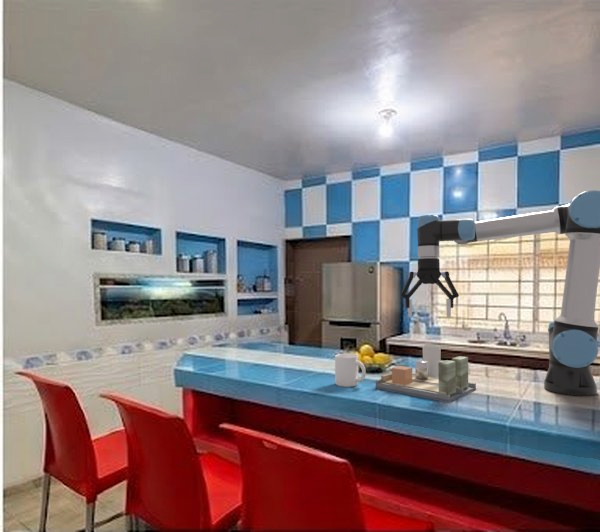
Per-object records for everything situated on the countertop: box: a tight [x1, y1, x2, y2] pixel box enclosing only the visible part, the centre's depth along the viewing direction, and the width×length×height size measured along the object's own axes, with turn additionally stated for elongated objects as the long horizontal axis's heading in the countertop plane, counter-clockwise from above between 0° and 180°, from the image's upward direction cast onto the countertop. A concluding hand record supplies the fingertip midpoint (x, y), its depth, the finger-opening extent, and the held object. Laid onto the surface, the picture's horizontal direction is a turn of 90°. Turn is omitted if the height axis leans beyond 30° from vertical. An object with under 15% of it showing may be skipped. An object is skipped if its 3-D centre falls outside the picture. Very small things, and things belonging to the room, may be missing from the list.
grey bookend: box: [422, 344, 442, 377], centre depth 168 cm, size 10×7×12 cm, turn 140°
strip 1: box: [380, 359, 456, 395], centre depth 144 cm, size 24×8×10 cm, turn 47°
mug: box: [334, 353, 367, 388], centre depth 153 cm, size 12×8×10 cm
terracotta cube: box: [391, 365, 413, 385], centre depth 148 cm, size 5×5×5 cm
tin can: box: [414, 360, 428, 380], centre depth 154 cm, size 4×4×6 cm
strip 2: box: [412, 355, 469, 389], centre depth 151 cm, size 24×8×10 cm, turn 47°
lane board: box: [375, 373, 477, 403], centre depth 147 cm, size 26×22×3 cm
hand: (429, 317), depth 154 cm, fingers open, 13 cm apart
